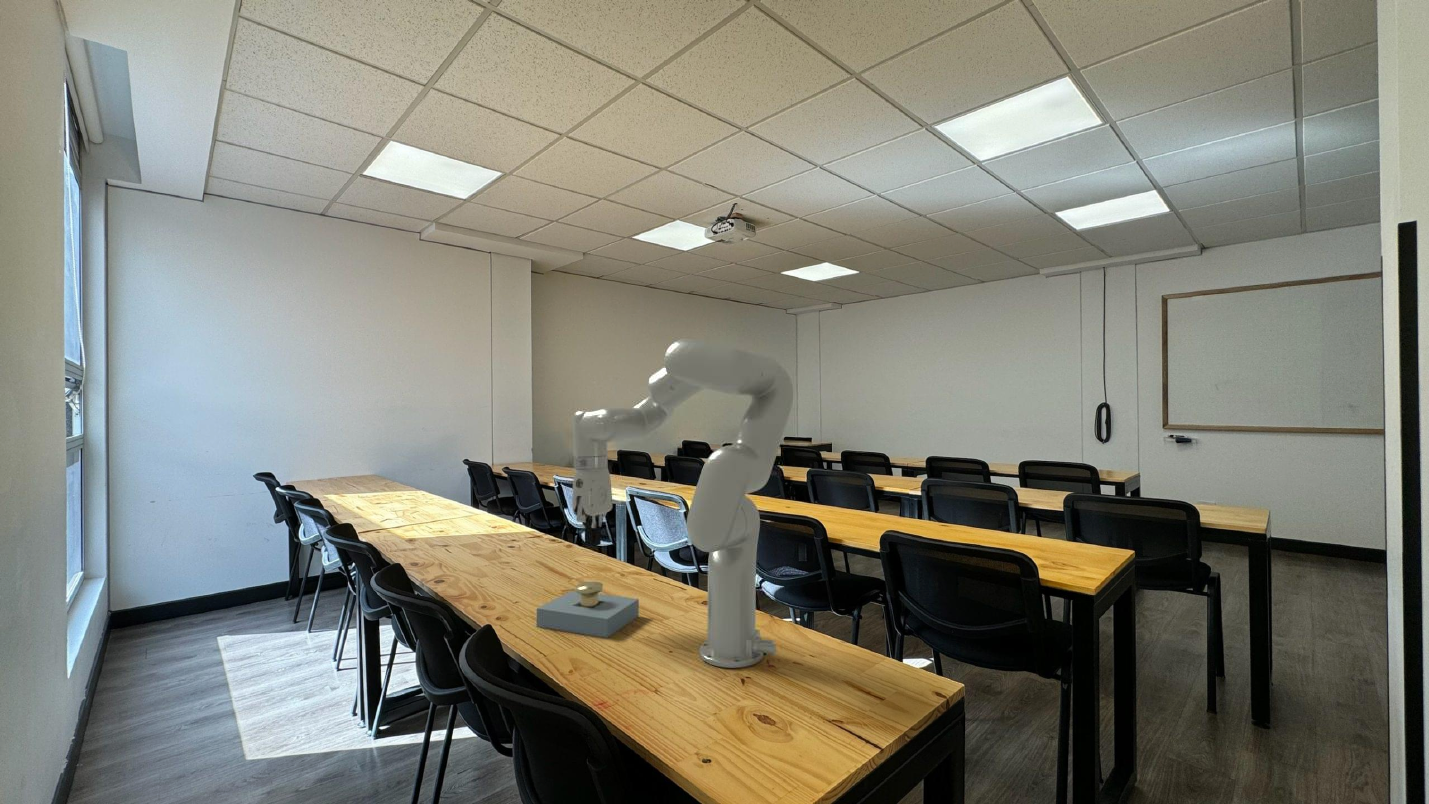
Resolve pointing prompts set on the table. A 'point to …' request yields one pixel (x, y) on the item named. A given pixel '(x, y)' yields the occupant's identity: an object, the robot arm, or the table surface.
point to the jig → (588, 614)
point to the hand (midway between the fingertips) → (592, 544)
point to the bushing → (589, 593)
